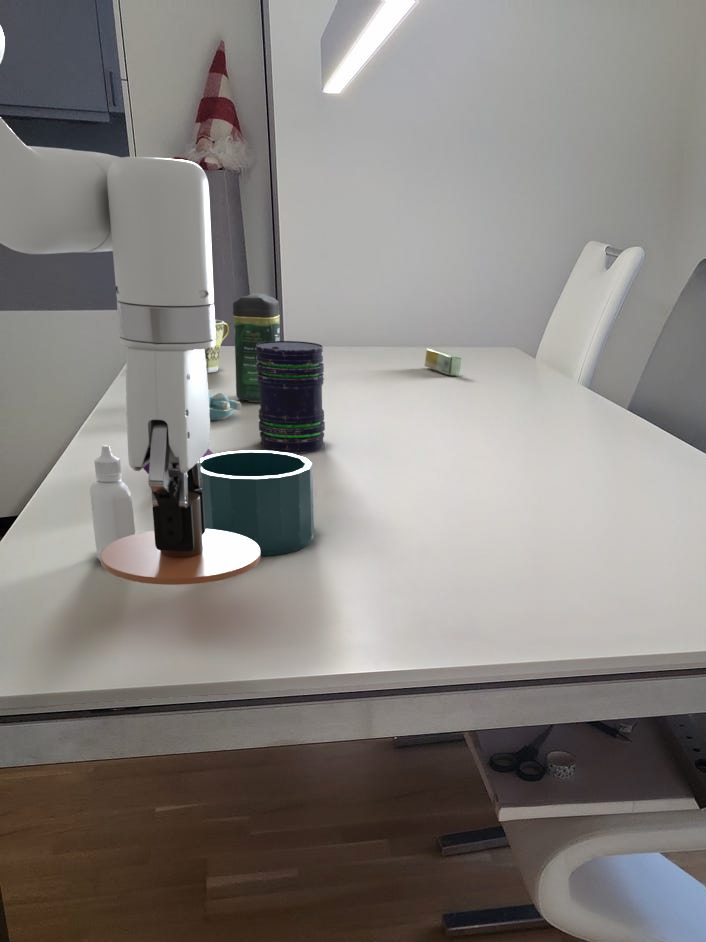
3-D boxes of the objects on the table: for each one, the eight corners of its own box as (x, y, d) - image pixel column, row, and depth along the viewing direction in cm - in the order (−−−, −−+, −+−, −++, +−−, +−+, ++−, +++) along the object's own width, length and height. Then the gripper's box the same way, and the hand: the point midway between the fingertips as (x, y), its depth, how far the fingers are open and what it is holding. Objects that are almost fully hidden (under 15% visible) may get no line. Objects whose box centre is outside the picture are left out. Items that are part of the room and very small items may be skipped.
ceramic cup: (201, 375, 212) (198, 325, 208) (167, 369, 217) (164, 320, 213) (246, 369, 222) (244, 320, 218) (213, 363, 227) (211, 316, 223)
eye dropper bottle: (142, 551, 110) (131, 439, 105) (136, 568, 105) (125, 452, 100) (98, 552, 109) (86, 439, 104) (91, 570, 104) (78, 452, 99)
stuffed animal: (257, 385, 174) (191, 377, 165) (251, 428, 176) (186, 421, 167) (226, 376, 181) (161, 367, 173) (221, 417, 183) (157, 410, 175)
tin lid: (80, 588, 85) (72, 515, 83) (126, 537, 97) (120, 472, 95) (246, 594, 86) (244, 523, 83) (271, 543, 98) (269, 479, 96)
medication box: (460, 376, 225) (462, 357, 224) (449, 375, 224) (452, 357, 223) (434, 366, 235) (436, 348, 233) (423, 366, 233) (425, 347, 232)
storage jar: (292, 436, 164) (289, 339, 158) (338, 446, 159) (337, 346, 153) (245, 446, 157) (240, 344, 151) (292, 456, 151) (289, 352, 146)
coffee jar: (276, 404, 188) (272, 297, 180) (232, 402, 188) (227, 295, 180) (286, 394, 197) (282, 292, 189) (244, 393, 197) (239, 290, 189)
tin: (186, 555, 110) (181, 476, 106) (211, 520, 121) (206, 448, 118) (306, 558, 110) (304, 480, 107) (319, 523, 122) (317, 452, 118)
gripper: (147, 312, 91) (161, 512, 98) (88, 336, 76) (110, 572, 83) (233, 316, 91) (241, 516, 99) (191, 342, 76) (204, 576, 83)
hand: (181, 539), depth 91 cm, fingers closed on tin lid, 3 cm apart
